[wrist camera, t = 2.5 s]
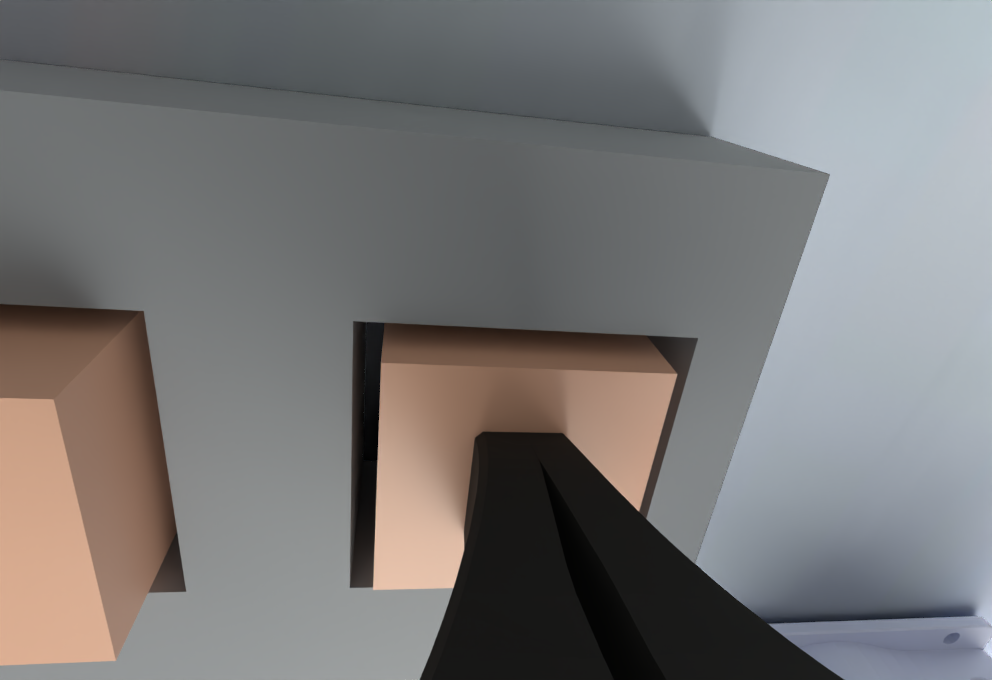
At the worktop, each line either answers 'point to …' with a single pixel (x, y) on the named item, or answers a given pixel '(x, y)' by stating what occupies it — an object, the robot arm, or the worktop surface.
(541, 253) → the switch block
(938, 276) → the worktop surface
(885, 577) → the worktop surface
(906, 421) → the worktop surface
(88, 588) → the button
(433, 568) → the button
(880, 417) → the worktop surface
